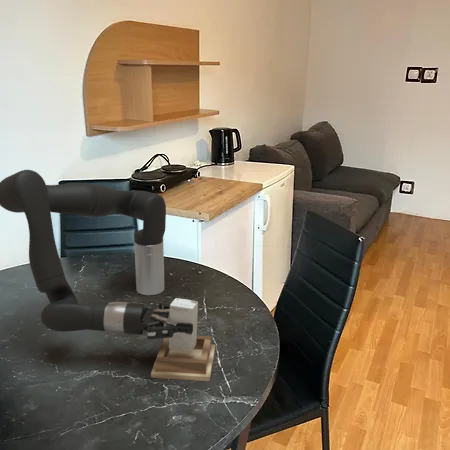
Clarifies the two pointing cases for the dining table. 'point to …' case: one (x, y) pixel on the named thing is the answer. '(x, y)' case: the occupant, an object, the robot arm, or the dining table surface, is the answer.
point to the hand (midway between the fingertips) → (194, 322)
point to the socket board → (185, 361)
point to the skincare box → (184, 314)
